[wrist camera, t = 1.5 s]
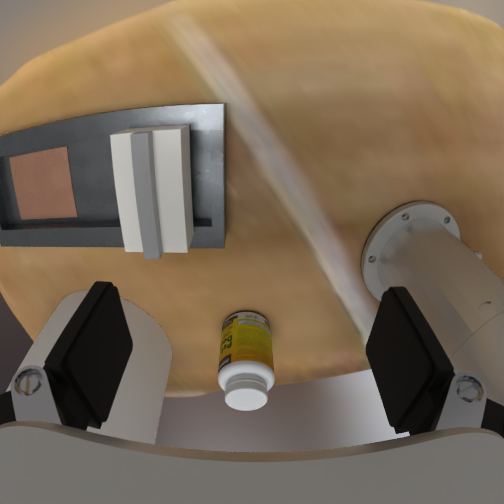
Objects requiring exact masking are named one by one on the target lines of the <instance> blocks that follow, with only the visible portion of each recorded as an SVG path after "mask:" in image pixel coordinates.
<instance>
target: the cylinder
mask: <svg viewBox="0 0 504 504" xmlns="http://www.w3.org/2000/svg"><path fill="white" fill-rule="evenodd" d="M88 292H89V290H82V291H78V292H74V293H71V294H69V295H68V296H66V297H65V298H64V299H62V300H61V302H60V303H59V305H58V306H57V308H56V309H55V311H54V312H53V314H52V315H51V317H50V318H49V320H48V321H47V323H46V324H45V326H44V327H43V329H42V330H41V332H40V334H39V335H38V337H37V338H36V340H35V342H34V343H33V345H32V347H31V349H30V350H29V352H28V353H27V355H26V357H25V358H24V360H23V362H22V363H21V365H20V367H19V369H18V371H19V370H20V369H21V368H23V367H25V366H29V365H37V366H39V367H41V368H43V366H44V365H45V362H44V361H45V360H46V358H47V356H48V355H49V353H50V351H51V349H52V348H53V346H54V344H55V343H56V341H57V339H58V338H59V336H60V335H61V333H62V331H63V330H64V328H65V327H66V325H67V323H68V322H69V320H70V319H71V317H72V316H73V314H74V313H75V311H76V310H77V308H78V306H79V305H80V303H81V302H82V301H83V299H84V298H85V296H86V295H87V293H88ZM120 300H121V303H122V307H123V310H124V314H125V317H126V321H127V324H128V327H129V331H130V334H131V337H132V340H133V350H132V353H131V355H130V358H129V360H128V363H127V366H126V368H125V371H124V374H123V377H122V379H121V382H120V385H119V388H118V390H117V393H116V396H115V399H114V402H113V405H112V408H111V411H110V414H109V417H108V419H107V421H106V422H103V423H102V426H101V429H96V428H92V427H89V426H88V427H87V430H86V431H89V432H93V433H97V434H102V435H106V436H111V437H116V438H121V439H126V440H131V441H136V442H142V443H148V444H154V445H155V440H156V434H157V429H158V424H159V419H160V413H161V408H162V403H163V398H164V394H165V389H166V384H167V379H168V375H169V370H170V365H171V359H172V349H171V345H170V341H169V339H168V338H167V336H166V334H165V332H164V331H163V329H162V328H161V327H160V326H159V324H158V323H157V322H156V321H155V320H154V319H153V318H152V317H151V316H150V315H149V314H147V313H146V312H145V311H143V310H142V309H140V308H139V307H138V306H136V305H135V304H133V303H131V302H129V301H127V300H125V299H123V298H121V297H120ZM18 371H17V372H18ZM10 390H11V383H10V386H9V387H8V389H7V391H6V392H8V391H10Z"/></svg>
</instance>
